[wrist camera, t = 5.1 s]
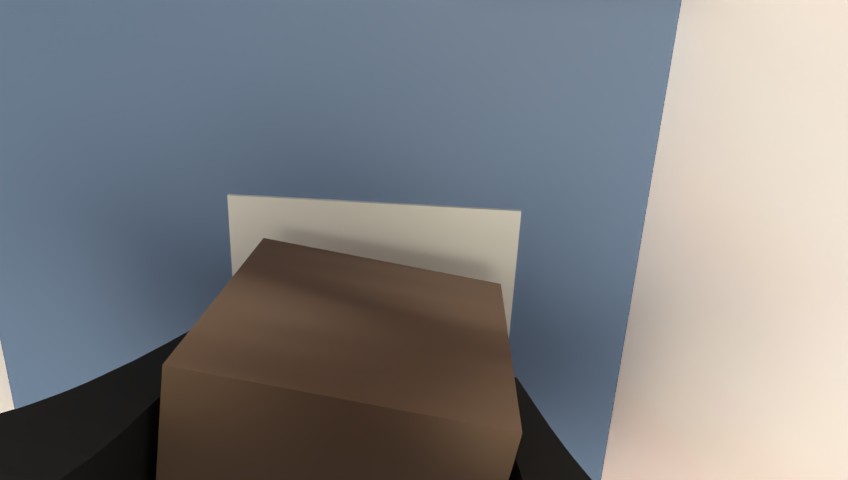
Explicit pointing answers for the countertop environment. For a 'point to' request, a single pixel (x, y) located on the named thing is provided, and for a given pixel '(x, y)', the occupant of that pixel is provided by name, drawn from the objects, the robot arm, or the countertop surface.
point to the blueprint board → (327, 169)
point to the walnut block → (341, 375)
